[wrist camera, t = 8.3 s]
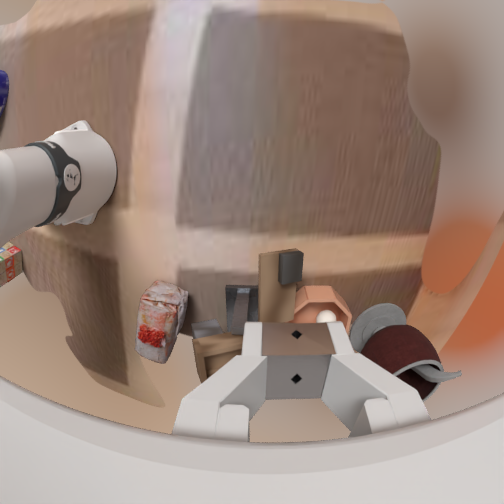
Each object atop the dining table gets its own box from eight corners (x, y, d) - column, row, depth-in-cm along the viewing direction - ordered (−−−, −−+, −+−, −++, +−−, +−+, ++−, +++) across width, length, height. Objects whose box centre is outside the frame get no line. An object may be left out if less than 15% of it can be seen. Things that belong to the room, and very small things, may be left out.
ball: (333, 323, 49) (314, 322, 49) (336, 306, 47) (316, 305, 48) (335, 334, 45) (315, 334, 46) (338, 317, 44) (317, 316, 44)
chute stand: (228, 336, 51) (221, 378, 41) (226, 285, 47) (216, 323, 37) (260, 337, 51) (259, 380, 40) (261, 285, 47) (260, 325, 37)
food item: (152, 271, 47) (129, 299, 38) (194, 285, 48) (180, 316, 39) (145, 329, 52) (127, 361, 43) (182, 342, 53) (169, 376, 43)
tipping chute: (190, 352, 43) (202, 386, 36) (177, 251, 37) (187, 275, 30) (274, 333, 49) (297, 360, 42) (279, 237, 42) (308, 256, 35)
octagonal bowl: (281, 337, 51) (282, 353, 47) (284, 285, 47) (286, 299, 43) (338, 336, 51) (343, 351, 46) (348, 285, 47) (355, 298, 42)
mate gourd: (358, 365, 53) (384, 439, 35) (334, 323, 50) (361, 405, 31) (420, 329, 50) (463, 394, 31) (405, 282, 46) (460, 347, 27)
